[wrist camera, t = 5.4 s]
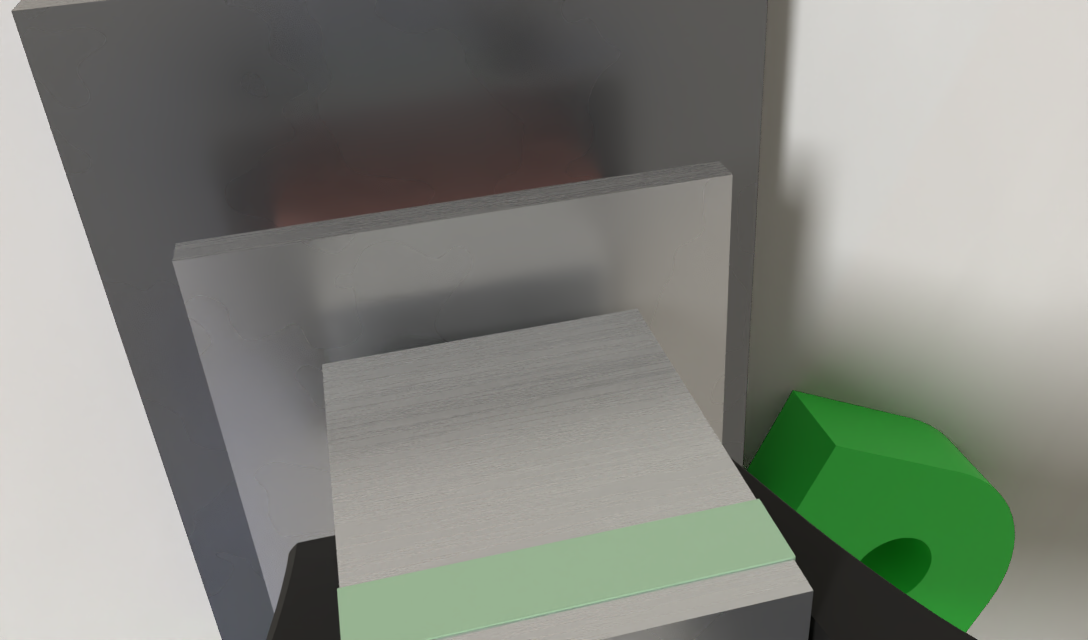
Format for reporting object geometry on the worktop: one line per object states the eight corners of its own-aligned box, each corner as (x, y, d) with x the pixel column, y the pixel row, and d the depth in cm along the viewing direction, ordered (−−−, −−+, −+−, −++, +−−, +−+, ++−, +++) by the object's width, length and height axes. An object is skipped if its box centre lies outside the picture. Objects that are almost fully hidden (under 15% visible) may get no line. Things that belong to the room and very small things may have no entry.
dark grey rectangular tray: (719, 519, 21) (791, 648, 18) (232, 624, 20) (225, 784, 17) (743, -87, 15) (859, -40, 12) (27, -8, 13) (-41, 70, 10)
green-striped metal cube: (642, 539, 15) (785, 857, 11) (370, 599, 14) (411, 959, 10) (638, 306, 13) (815, 587, 9) (319, 363, 12) (345, 696, 8)
